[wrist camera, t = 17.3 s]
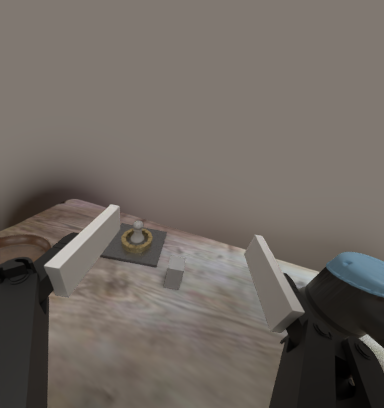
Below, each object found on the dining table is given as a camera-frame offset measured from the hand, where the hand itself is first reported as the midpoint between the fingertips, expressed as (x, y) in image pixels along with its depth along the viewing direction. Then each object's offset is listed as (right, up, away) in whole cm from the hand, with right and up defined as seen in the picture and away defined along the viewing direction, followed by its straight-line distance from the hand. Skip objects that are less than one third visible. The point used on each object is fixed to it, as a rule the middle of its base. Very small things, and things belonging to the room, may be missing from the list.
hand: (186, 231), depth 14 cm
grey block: (-5, -19, +27) cm, 33 cm away
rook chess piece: (-18, -10, +35) cm, 41 cm away
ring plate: (-18, -11, +36) cm, 41 cm away
